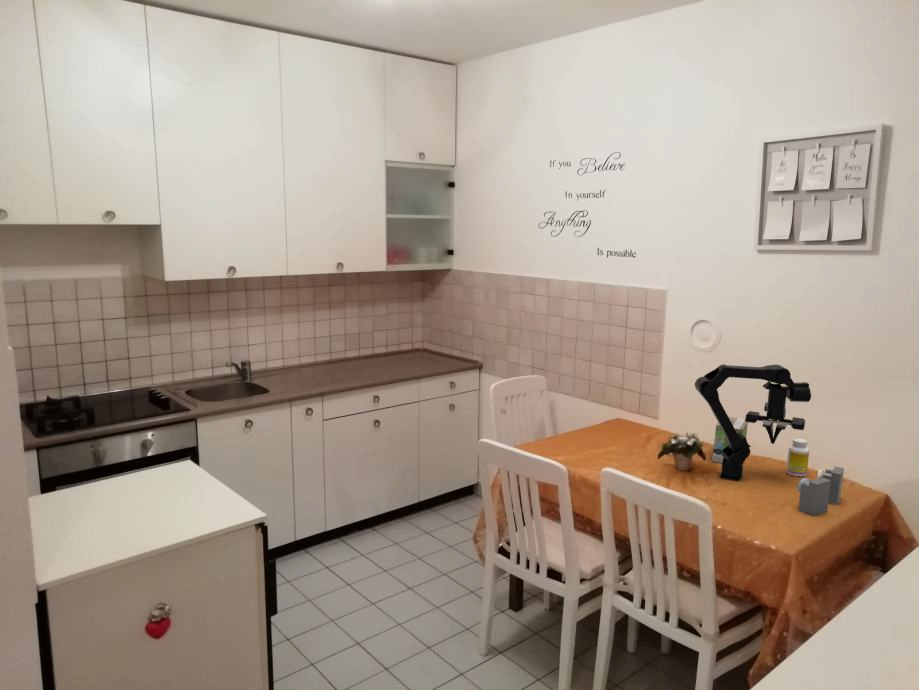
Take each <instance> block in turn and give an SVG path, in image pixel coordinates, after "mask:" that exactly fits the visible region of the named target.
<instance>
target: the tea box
mask: <svg viewBox="0 0 919 690" xmlns="http://www.w3.org/2000/svg"><path fill="white" fill-rule="evenodd" d="M728 417H729V419H730V421H731V423H732V425H733V427H734V428H735V430H736V432H737V434H738V433H739V432H740V433H742V434H743V435H744V436H745V437H746V438H747V433H748V425H749V422H745V419H743V418H739V417H738V418H737V417H736V418H735V417H731V416H728ZM713 441H714V443H713V451H712V457H711V458H712V462H715V463H716V462H717V463H719V464H722V460H723V458H724V457H723V456H722V453H721V450H723V449H724V448H725V447H726V446H727V443H726V437H725V434H724V432H723V430H722V428H721V427H720V425H719V423H718V422H717V423H716V425H715V433H714V440H713Z"/></svg>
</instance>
